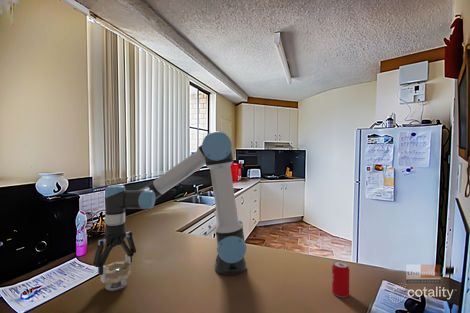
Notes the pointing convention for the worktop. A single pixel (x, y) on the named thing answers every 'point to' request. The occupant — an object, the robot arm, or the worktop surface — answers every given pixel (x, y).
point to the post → (117, 285)
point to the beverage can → (340, 279)
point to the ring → (117, 272)
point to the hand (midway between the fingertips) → (116, 276)
